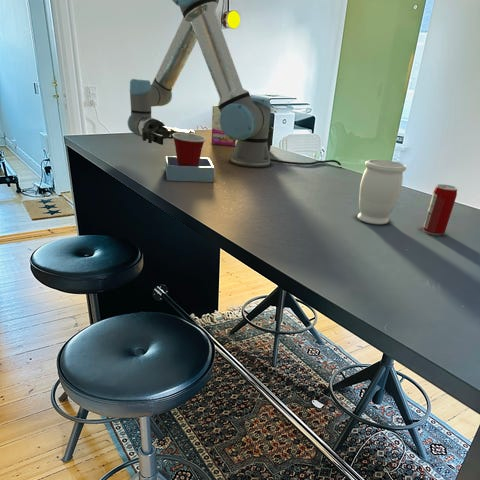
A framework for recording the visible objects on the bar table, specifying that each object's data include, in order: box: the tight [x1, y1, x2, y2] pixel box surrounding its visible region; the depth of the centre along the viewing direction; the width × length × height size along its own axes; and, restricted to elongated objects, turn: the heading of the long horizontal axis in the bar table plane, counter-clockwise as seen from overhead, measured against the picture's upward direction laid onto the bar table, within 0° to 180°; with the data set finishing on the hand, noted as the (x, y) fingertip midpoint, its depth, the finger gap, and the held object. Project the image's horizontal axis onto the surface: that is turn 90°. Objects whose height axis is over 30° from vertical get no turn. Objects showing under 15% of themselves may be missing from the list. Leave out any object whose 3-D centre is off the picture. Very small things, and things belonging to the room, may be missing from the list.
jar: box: [357, 159, 407, 225], centre depth 117 cm, size 11×10×15 cm
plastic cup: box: [172, 132, 207, 167], centre depth 145 cm, size 11×11×12 cm
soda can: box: [422, 183, 458, 236], centre depth 113 cm, size 6×6×12 cm
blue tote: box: [165, 155, 215, 183], centre depth 148 cm, size 15×15×5 cm
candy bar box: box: [211, 104, 237, 147], centre depth 203 cm, size 11×5×16 cm, turn 81°
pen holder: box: [267, 126, 274, 152], centre depth 197 cm, size 9×9×10 cm
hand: (180, 139), depth 148 cm, fingers open, 13 cm apart
